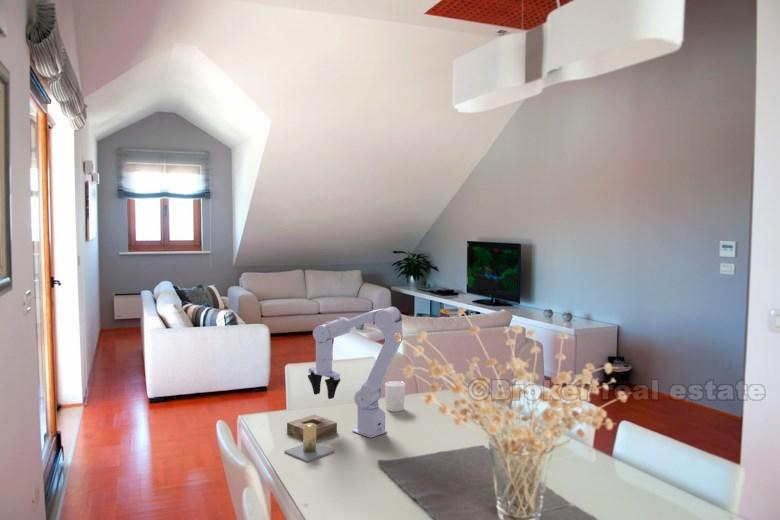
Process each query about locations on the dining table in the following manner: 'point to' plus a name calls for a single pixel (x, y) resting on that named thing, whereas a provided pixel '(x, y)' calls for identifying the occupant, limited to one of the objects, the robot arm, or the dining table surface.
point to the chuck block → (322, 424)
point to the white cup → (394, 395)
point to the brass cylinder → (309, 437)
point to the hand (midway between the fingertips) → (323, 396)
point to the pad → (308, 457)
